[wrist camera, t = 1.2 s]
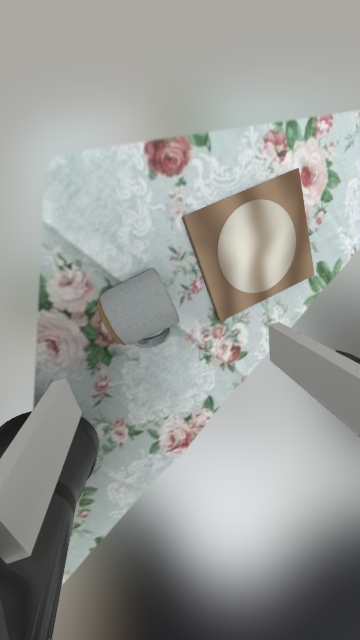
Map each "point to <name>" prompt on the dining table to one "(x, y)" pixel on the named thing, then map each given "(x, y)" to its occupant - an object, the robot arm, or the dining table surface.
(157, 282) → the ceramic mug
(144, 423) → the dining table surface
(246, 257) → the board
